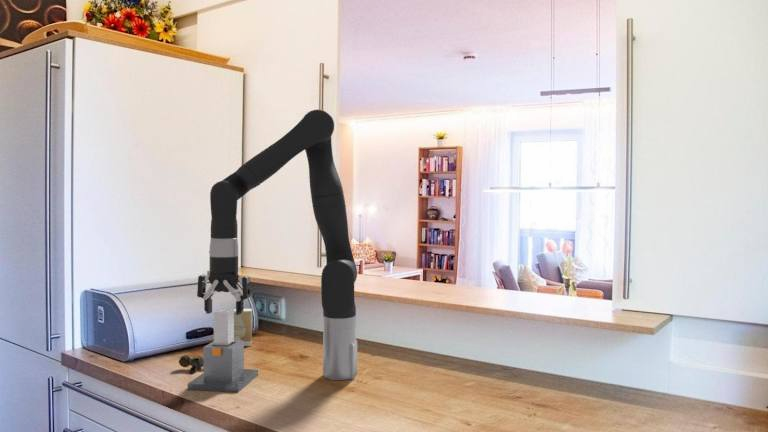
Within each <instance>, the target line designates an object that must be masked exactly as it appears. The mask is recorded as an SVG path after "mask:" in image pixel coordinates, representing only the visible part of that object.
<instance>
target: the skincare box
mask: <svg viewBox="0 0 768 432" xmlns="http://www.w3.org/2000/svg"><path fill="white" fill-rule="evenodd" d="M233 309H234V340H239V341H244V347H251V346H252V337H253V336H252V330H253V329H252V328H253V326H252V325H253V308H244V310H243V312H242V313H241V314H240V315H236V308H233Z"/></svg>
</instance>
